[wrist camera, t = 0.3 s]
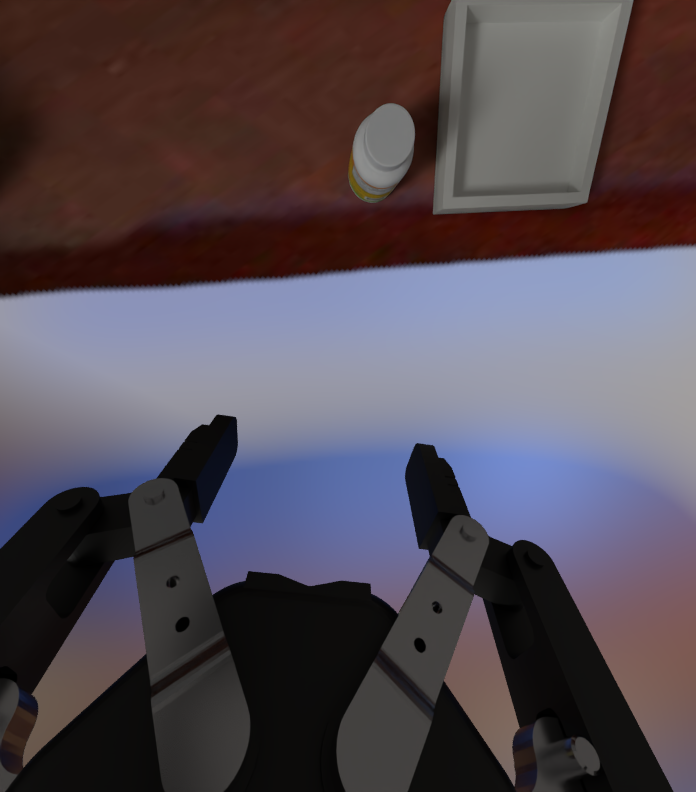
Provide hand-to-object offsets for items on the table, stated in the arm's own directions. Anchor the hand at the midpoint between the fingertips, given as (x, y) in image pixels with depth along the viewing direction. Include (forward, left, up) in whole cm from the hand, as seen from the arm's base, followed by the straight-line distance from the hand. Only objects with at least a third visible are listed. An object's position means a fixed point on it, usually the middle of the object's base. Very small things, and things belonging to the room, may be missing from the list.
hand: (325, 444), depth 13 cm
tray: (-21, +21, -27) cm, 40 cm away
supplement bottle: (-17, +6, -27) cm, 33 cm away
